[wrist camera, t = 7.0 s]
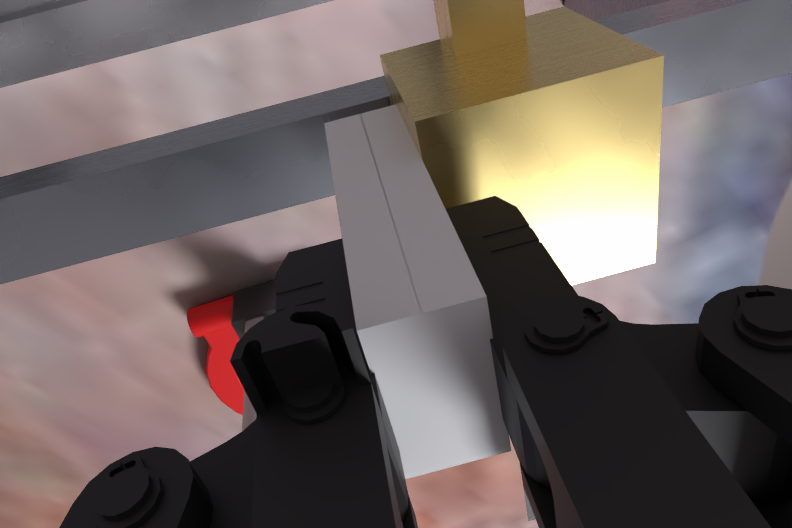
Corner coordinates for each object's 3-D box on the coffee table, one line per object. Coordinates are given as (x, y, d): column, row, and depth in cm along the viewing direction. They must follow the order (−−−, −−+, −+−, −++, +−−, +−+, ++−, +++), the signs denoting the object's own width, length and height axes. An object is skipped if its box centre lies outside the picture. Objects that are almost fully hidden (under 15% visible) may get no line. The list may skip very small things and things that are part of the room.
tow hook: (392, 381, 33) (341, 251, 28) (446, 629, 23) (383, 503, 18) (248, 425, 34) (168, 305, 28) (237, 691, 23) (109, 585, 18)
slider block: (369, 97, 23) (454, 316, 12) (326, -83, 19) (386, -17, 8) (472, 70, 23) (655, 262, 12) (447, -115, 19) (670, -91, 8)
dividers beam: (-95, 180, 23) (-323, 370, 14) (-194, 48, 20) (-552, 185, 12) (613, -7, 23) (810, 68, 15) (613, -162, 21) (855, -182, 12)
